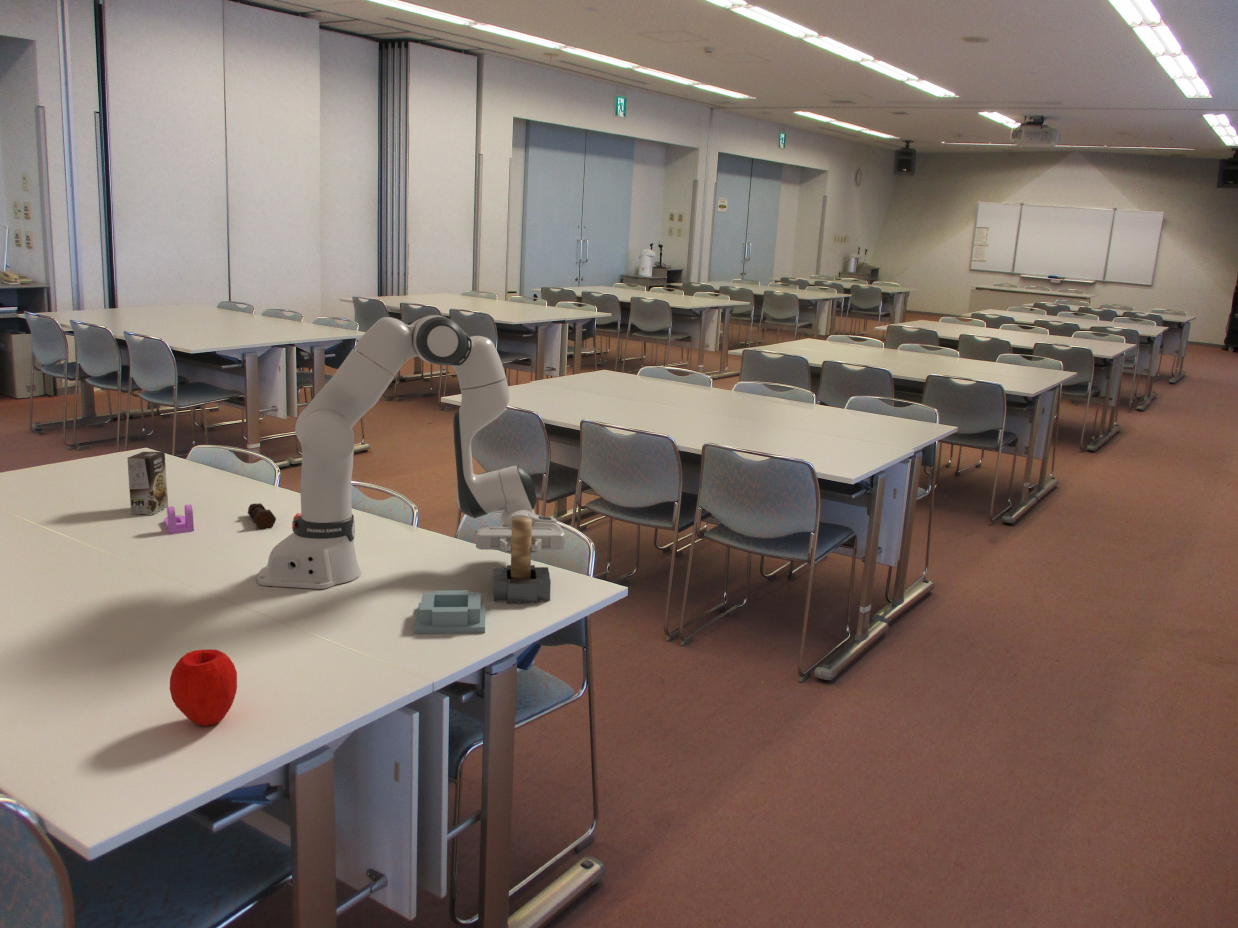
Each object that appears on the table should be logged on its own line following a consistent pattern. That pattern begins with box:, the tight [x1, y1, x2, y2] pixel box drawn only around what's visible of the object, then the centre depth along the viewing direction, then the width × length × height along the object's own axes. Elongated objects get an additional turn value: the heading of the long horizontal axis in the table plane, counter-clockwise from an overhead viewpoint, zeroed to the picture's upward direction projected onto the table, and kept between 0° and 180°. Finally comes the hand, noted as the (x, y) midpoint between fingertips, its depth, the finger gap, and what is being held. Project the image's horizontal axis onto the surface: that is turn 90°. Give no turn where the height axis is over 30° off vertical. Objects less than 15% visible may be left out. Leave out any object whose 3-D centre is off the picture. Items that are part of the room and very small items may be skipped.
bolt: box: [247, 503, 277, 530], centre depth 257 cm, size 6×5×15 cm
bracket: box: [163, 503, 195, 535], centre depth 250 cm, size 13×6×7 cm, turn 33°
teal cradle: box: [413, 589, 486, 635], centre depth 195 cm, size 14×14×4 cm
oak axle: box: [510, 517, 532, 579], centre depth 210 cm, size 4×4×16 cm
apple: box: [169, 648, 238, 727], centre depth 150 cm, size 10×10×12 cm
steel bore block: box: [492, 564, 552, 605], centre depth 212 cm, size 12×12×4 cm
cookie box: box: [127, 451, 169, 516], centre depth 262 cm, size 9×6×16 cm
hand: (521, 549), depth 209 cm, fingers closed on oak axle, 4 cm apart
